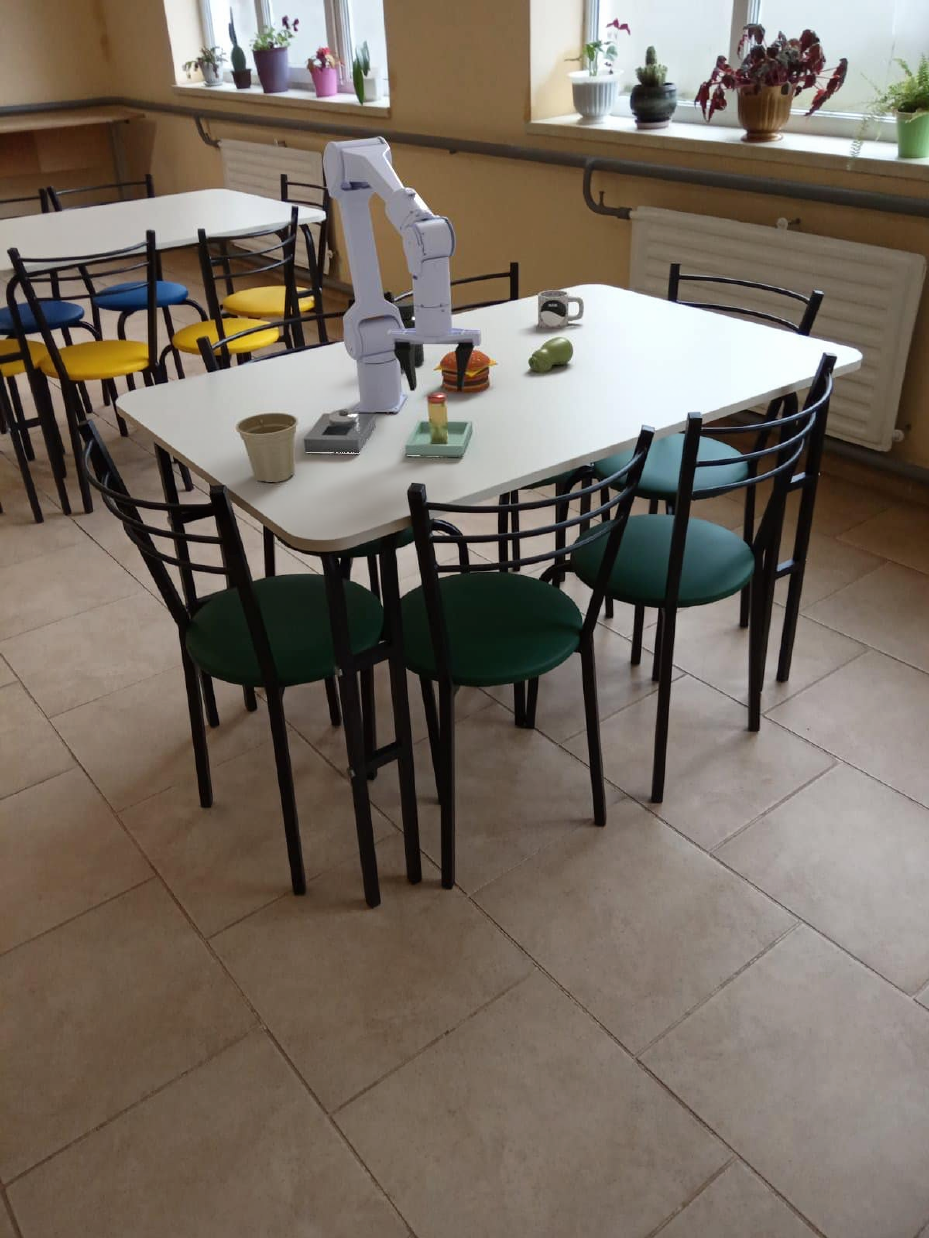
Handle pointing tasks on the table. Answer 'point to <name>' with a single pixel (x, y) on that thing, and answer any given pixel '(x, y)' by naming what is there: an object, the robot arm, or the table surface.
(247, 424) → the flower pot
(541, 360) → the pear
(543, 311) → the mug
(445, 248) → the robot arm
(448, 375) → the hamburger
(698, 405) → the table surface
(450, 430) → the tray
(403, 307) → the supplement bottle
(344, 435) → the block
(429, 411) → the yellow jar
